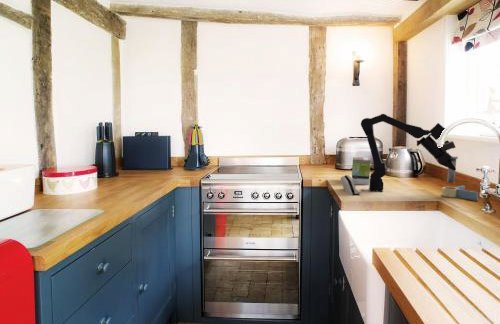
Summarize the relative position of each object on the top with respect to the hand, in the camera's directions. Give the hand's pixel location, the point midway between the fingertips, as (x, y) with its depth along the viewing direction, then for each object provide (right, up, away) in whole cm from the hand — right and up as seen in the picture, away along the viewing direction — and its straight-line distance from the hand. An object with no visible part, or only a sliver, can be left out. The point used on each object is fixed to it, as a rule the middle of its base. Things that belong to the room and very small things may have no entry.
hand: (454, 169), depth 184 cm
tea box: (-35, -9, +40) cm, 54 cm away
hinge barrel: (+2, -13, +2) cm, 14 cm away
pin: (-1, -6, +1) cm, 7 cm away
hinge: (-49, -12, +12) cm, 52 cm away
